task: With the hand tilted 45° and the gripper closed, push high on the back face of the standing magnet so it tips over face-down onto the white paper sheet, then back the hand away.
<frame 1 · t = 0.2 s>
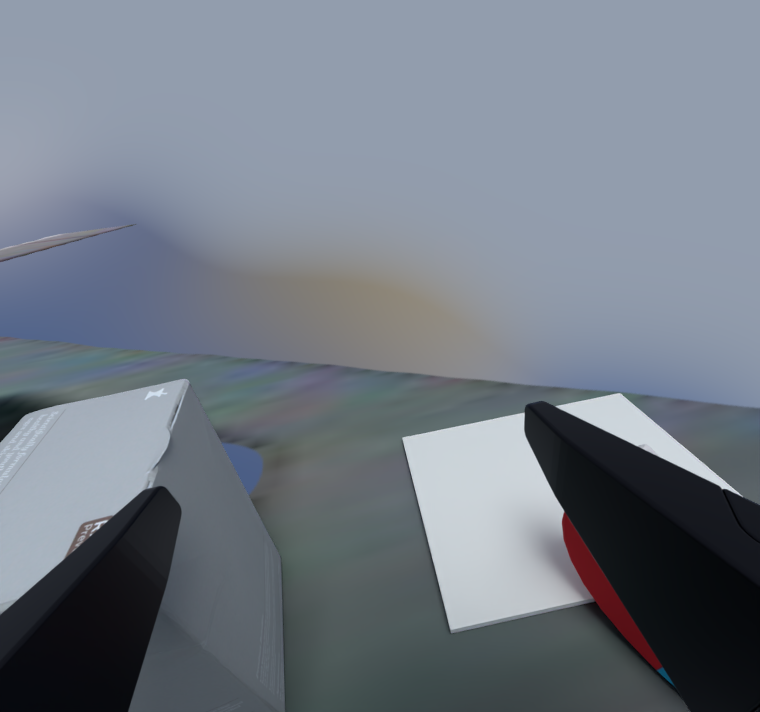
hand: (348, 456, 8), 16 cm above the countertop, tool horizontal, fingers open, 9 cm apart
skincare box: (237, 648, 19), on the countertop
white paper sheet: (556, 485, 24), on the countertop
magnet: (667, 649, 16), on the countertop, touching white paper sheet
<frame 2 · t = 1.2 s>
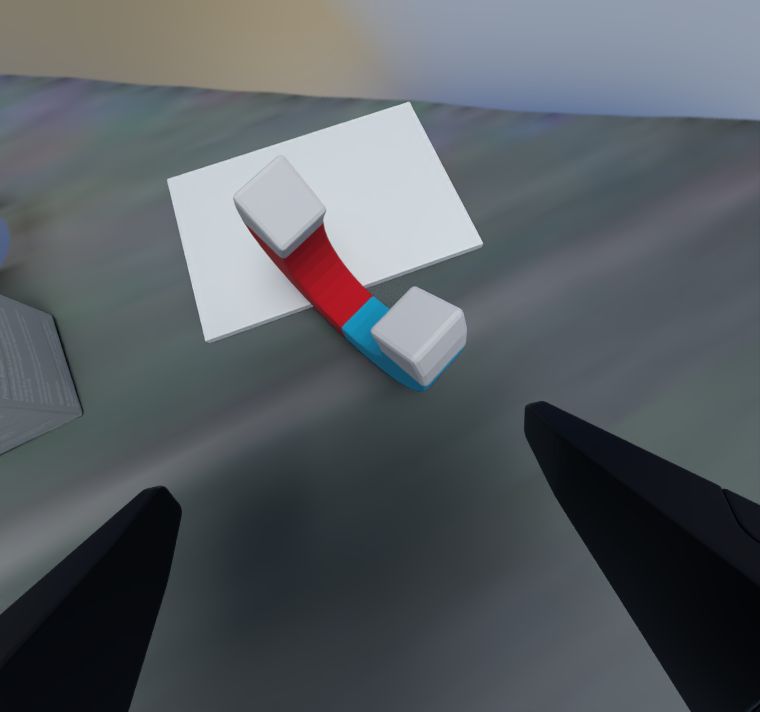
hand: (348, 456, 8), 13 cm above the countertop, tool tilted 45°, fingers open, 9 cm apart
skincare box: (34, 385, 23), on the countertop
white paper sheet: (318, 214, 25), on the countertop
magnet: (360, 324, 23), on the countertop, touching white paper sheet
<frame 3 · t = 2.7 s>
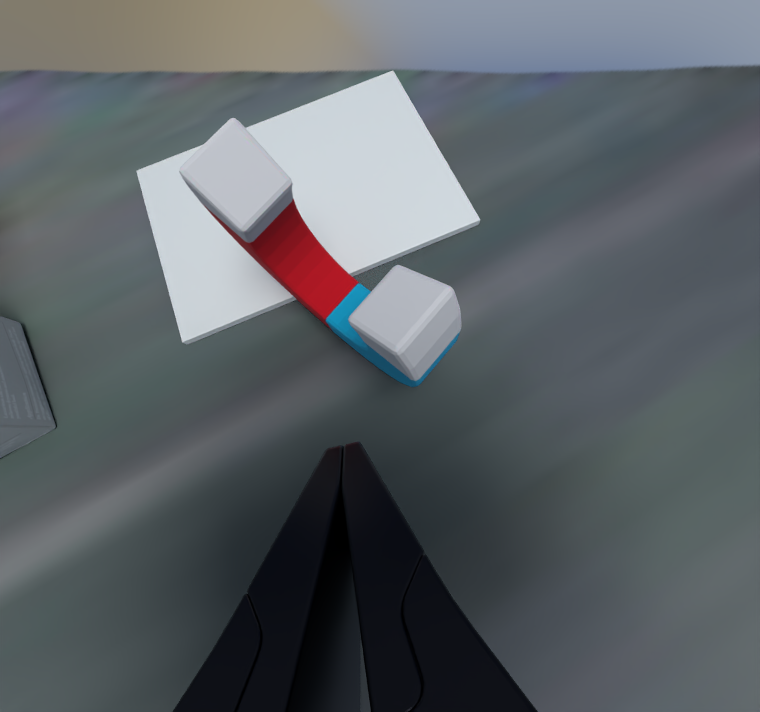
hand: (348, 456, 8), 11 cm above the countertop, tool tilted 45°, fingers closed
skincare box: (5, 398, 21), on the countertop
white paper sheet: (299, 198, 23), on the countertop
magnet: (349, 316, 21), on the countertop, touching white paper sheet
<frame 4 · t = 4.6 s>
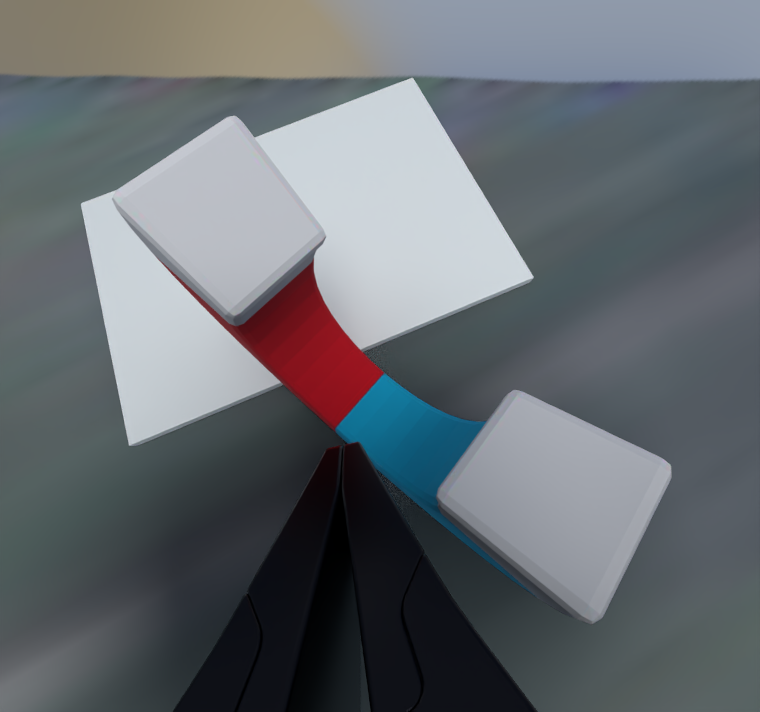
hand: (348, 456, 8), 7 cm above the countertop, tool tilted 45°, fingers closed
white paper sheet: (292, 243, 18), on the countertop
magnet: (357, 409, 15), on the countertop, touching white paper sheet
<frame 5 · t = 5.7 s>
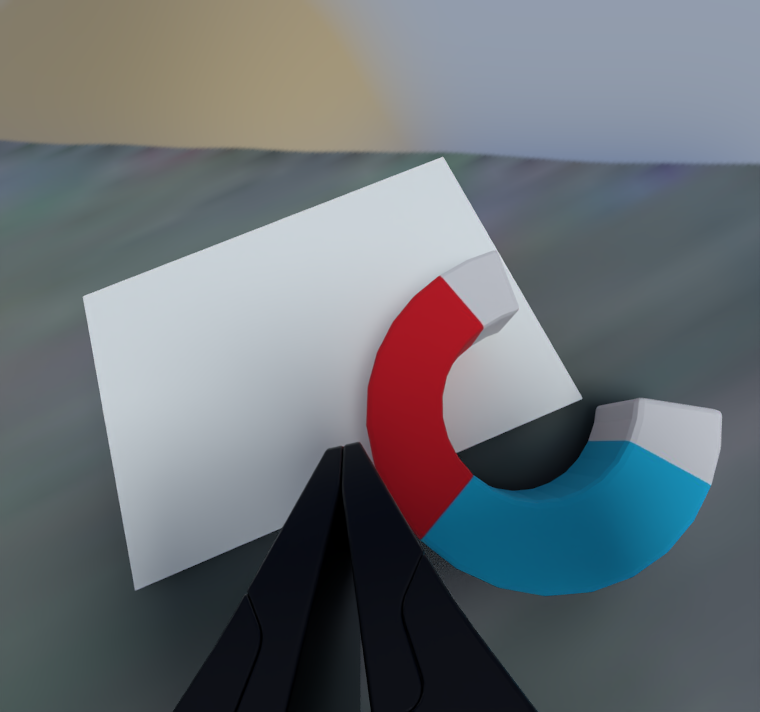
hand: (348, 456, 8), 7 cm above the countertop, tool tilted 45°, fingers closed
white paper sheet: (313, 346, 16), on the countertop
magnet: (414, 535, 12), point 2 cm above the countertop, touching white paper sheet
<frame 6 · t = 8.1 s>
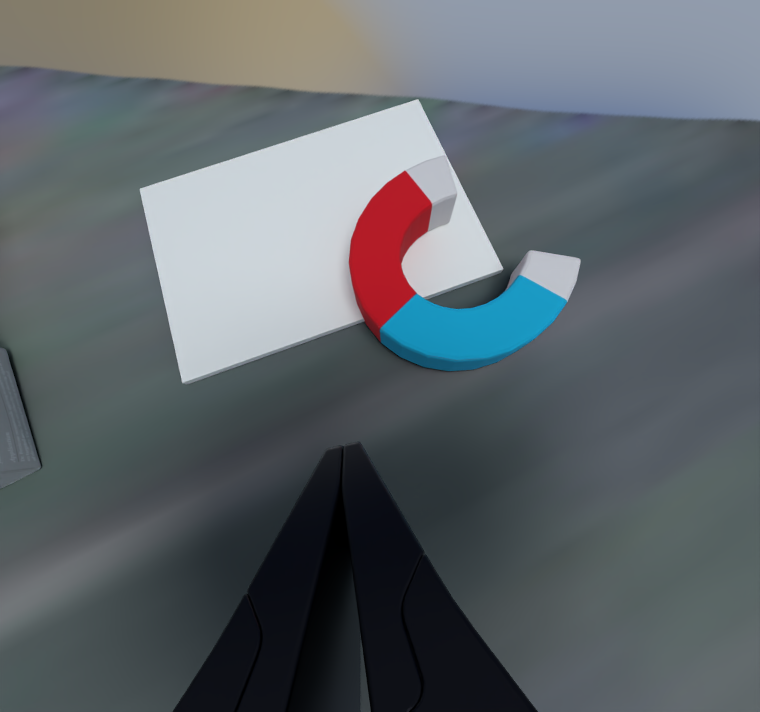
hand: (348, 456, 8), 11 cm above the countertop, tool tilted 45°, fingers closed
white paper sheet: (313, 231, 22), on the countertop
magnet: (377, 339, 18), point 2 cm above the countertop, touching white paper sheet
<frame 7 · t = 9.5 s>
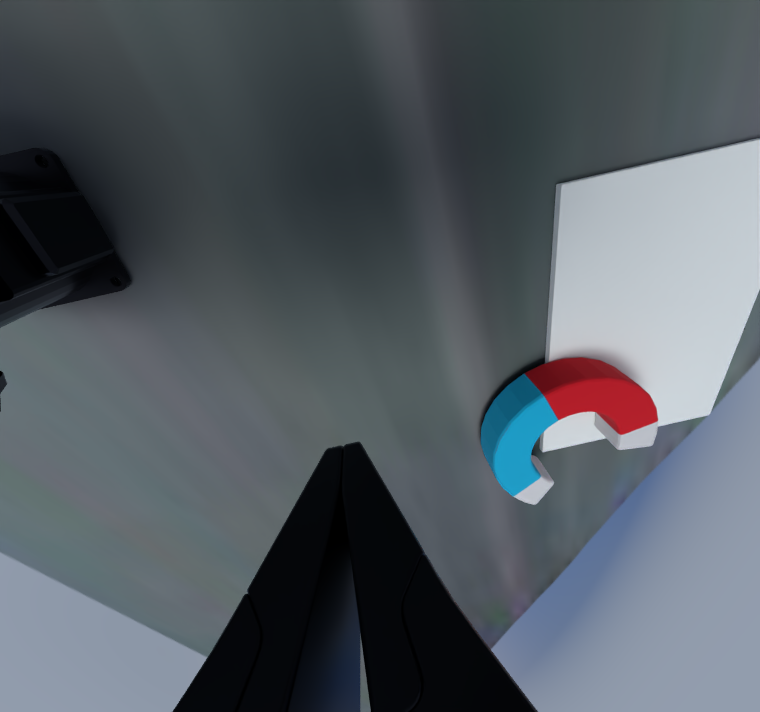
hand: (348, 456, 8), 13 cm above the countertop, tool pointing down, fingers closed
white paper sheet: (646, 322, 23), on the countertop
magnet: (531, 381, 22), point 2 cm above the countertop, touching white paper sheet
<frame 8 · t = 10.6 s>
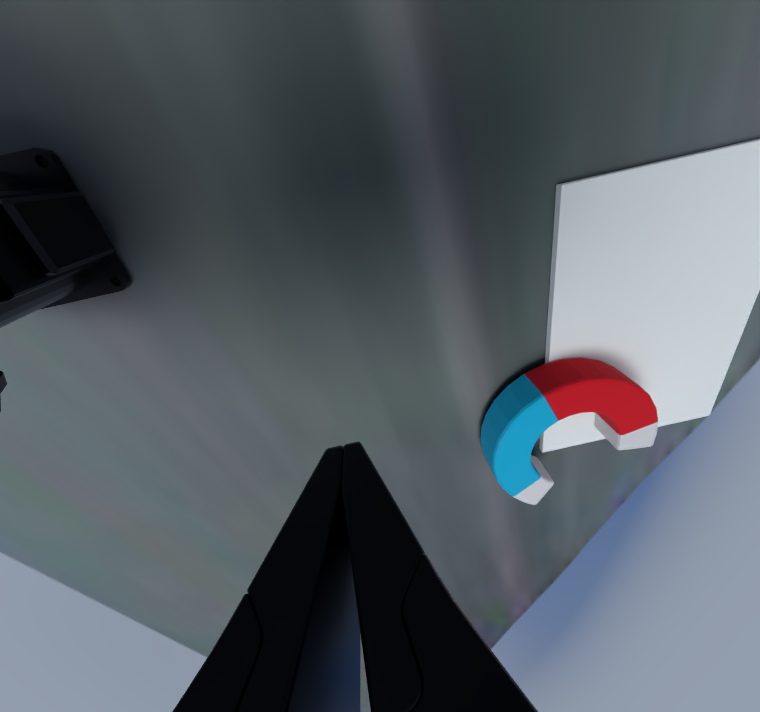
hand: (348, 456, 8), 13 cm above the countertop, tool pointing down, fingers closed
white paper sheet: (646, 322, 23), on the countertop
magnet: (531, 381, 22), point 2 cm above the countertop, touching white paper sheet
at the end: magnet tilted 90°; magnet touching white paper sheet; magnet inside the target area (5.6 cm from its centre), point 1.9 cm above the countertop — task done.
